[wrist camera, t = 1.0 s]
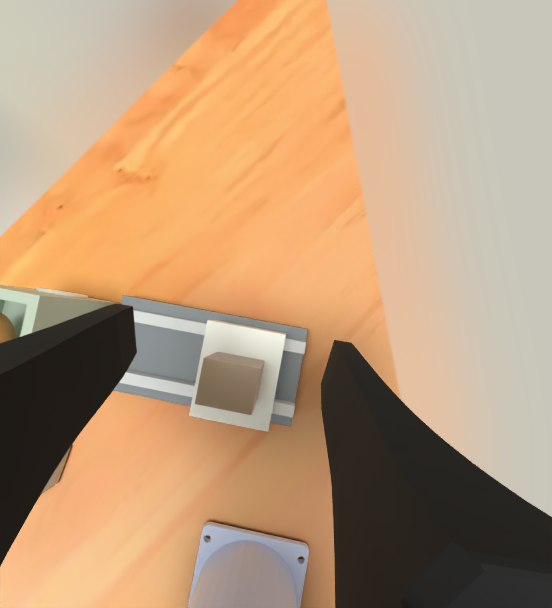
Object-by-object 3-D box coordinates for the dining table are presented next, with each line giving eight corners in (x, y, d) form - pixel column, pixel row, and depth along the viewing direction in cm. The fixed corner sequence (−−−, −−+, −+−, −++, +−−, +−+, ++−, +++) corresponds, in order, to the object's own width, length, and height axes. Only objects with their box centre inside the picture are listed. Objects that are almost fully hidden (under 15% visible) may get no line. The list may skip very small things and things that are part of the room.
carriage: (270, 420, 20) (264, 454, 15) (198, 406, 20) (169, 435, 15) (286, 333, 20) (285, 337, 15) (215, 320, 20) (191, 320, 15)
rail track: (290, 419, 22) (290, 430, 20) (115, 383, 23) (96, 391, 21) (306, 328, 23) (308, 330, 20) (133, 296, 23) (116, 294, 21)
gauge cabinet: (105, 372, 23) (17, 398, 16) (45, 360, 23) (-70, 380, 16) (120, 300, 23) (40, 292, 16) (61, 289, 24) (-45, 276, 16)
